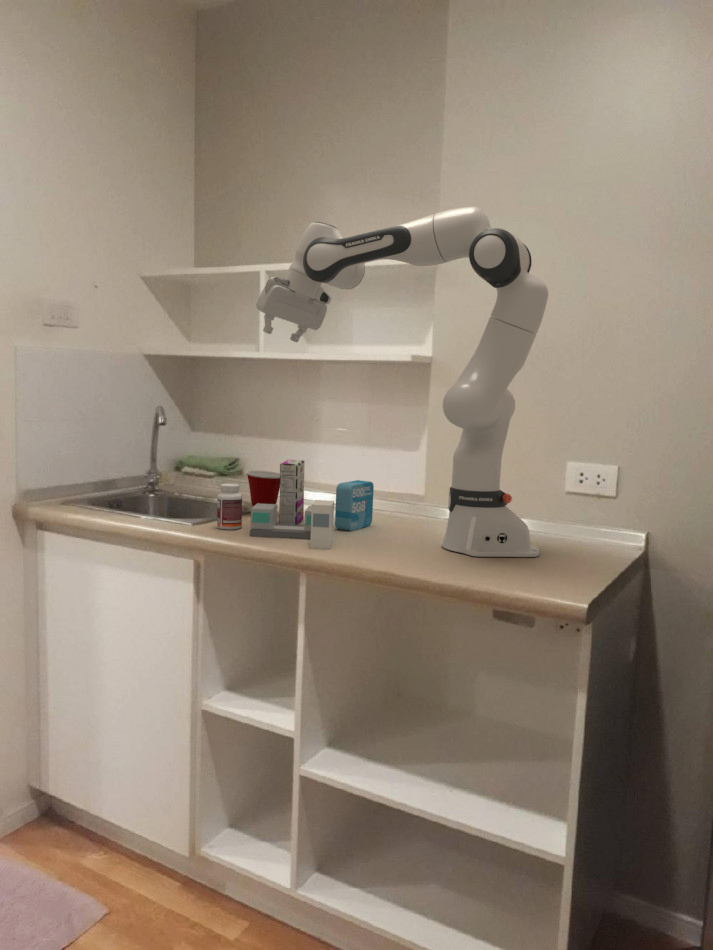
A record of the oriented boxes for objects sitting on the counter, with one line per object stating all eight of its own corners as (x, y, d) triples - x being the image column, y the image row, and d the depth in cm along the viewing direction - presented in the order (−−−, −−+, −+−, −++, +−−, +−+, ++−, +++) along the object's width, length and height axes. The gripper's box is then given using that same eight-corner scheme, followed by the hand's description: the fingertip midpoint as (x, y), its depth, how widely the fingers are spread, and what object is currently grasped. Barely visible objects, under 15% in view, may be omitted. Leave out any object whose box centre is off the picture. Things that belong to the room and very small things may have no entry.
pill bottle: (246, 527, 189) (247, 484, 188) (231, 531, 184) (232, 487, 182) (227, 524, 192) (228, 482, 191) (211, 528, 187) (212, 484, 185)
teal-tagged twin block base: (328, 532, 188) (329, 506, 187) (324, 539, 178) (325, 512, 177) (257, 528, 189) (258, 502, 188) (249, 536, 179) (250, 509, 178)
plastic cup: (273, 519, 203) (274, 475, 201) (238, 515, 206) (238, 472, 205) (289, 513, 213) (291, 471, 211) (255, 510, 216) (257, 469, 215)
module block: (332, 542, 175) (334, 500, 174) (329, 549, 168) (331, 505, 167) (313, 541, 175) (315, 499, 174) (310, 548, 168) (311, 504, 167)
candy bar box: (285, 518, 205) (287, 459, 203) (303, 519, 204) (305, 459, 202) (277, 525, 194) (279, 462, 192) (296, 526, 193) (298, 463, 191)
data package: (349, 532, 189) (351, 485, 188) (334, 529, 191) (336, 483, 190) (372, 525, 199) (374, 481, 198) (357, 523, 202) (359, 479, 200)
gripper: (278, 277, 177) (256, 331, 180) (336, 300, 192) (315, 349, 196) (263, 270, 181) (242, 323, 184) (320, 292, 196) (300, 341, 199)
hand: (280, 337), depth 190 cm, fingers open, 8 cm apart
